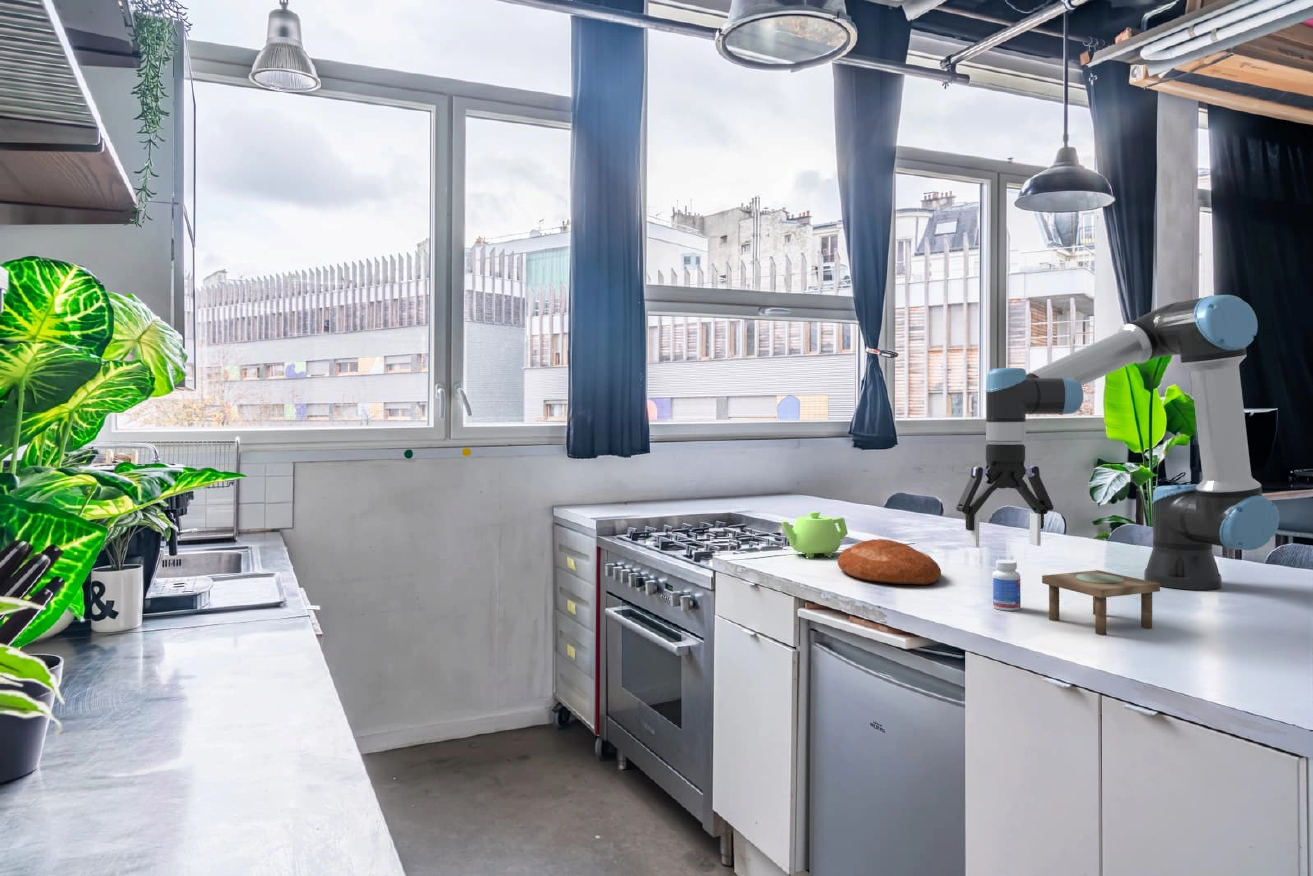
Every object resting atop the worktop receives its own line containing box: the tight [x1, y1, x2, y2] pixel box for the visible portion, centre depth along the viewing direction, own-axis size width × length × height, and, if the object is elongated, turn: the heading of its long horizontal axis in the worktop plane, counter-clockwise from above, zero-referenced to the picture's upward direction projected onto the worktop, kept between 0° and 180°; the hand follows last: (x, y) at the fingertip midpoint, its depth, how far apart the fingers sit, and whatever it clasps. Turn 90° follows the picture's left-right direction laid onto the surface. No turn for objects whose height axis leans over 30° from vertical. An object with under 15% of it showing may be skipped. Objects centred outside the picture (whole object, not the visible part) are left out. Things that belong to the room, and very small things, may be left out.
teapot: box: [781, 511, 849, 559], centre depth 236 cm, size 20×13×13 cm
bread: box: [837, 538, 942, 585], centre depth 206 cm, size 22×32×9 cm
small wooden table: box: [1041, 569, 1161, 636], centre depth 156 cm, size 14×14×9 cm
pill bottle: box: [991, 559, 1022, 612], centre depth 170 cm, size 6×5×10 cm
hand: (1004, 545), depth 169 cm, fingers open, 13 cm apart
